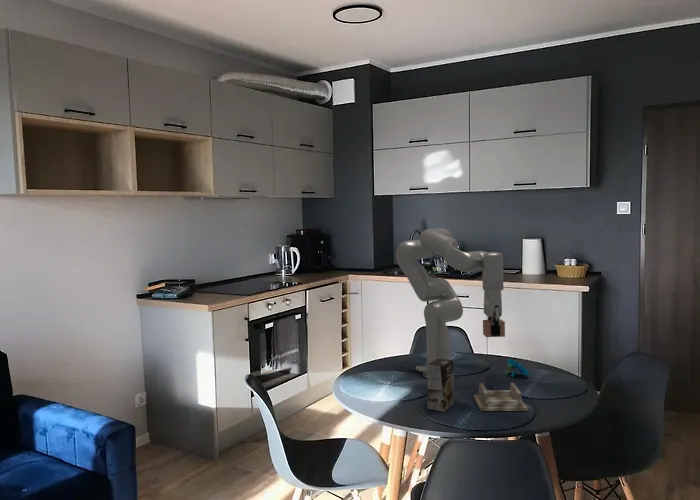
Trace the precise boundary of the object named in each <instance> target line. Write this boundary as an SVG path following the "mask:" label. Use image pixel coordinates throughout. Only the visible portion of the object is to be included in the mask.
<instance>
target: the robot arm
mask: <svg viewBox="0 0 700 500" xmlns="http://www.w3.org/2000/svg"><path fill="white" fill-rule="evenodd" d="M436 255H439V256H440V257H443V259H444V261H445V263H446V264H447V265H449V266H450V267H451V268H452V269H455V270H457V271H460V272H463V273H470V272H482V274H481V275H482V279H481V280H482V290H483V293H484V295H483V314H484V315H485V316H486V317H487V320H492V325H491V335H492V336H500V319H501V317H502V313H503V306H502V305H503V303H502V302H503V301H502V300H503V299H502V291H503V290H504V255H503V254H502V252H498V251H493V252H492V251H491V252H488V251H486V250H476V251H463V250H461V249H459V243H458V241H457V239H456V238H454V237H453V235H452V232H451V231H450V230H448V229H447V228H444V227H440V228H439V227H437V228H428V229H425V230H423V231H422V232H421V233H420V234H419V238H418V239H408V240H405V241H402V242H401V243H399V244H398V246H397V247H396V252H395V257H396V258H395V259H396V262H397V264H398V266H399V268H400V270H401V271H402V272H403V274H404V275H405V276H406V278H407V280H408V282H409V284H410V286H411V287H412V290H413V291H414V293H415V294H416V297H418V299H419V300H420V301H421V302H428V303H427V304H426V305H425V306H424V309H423V317H424V322H425V328H426V329H425V330H426V331H425V332H426V362H425V364H424V365H415V371H416V372H421V373H422V376H423V377H424V378H426V379H428V364H429V363H431V362H432V361H434V360H436V359H447V360H451V349H450V348H451V344H450V343H451V338H450V337H451V335H450V331H449V328H448V326H447V324H446V323H451V322H455V321H458V320H460V318H462V317H463V313H464V308H463V304H462V302H461V301H460V299H459V297H458V295H457V294H456V292H455V290H454V289H453V287H452V285H451V284H450V282H449V281H448V280H447V279H445V278H444V277H431V276H430V275H429V273H428V272H427V270H426V269H425V267H424V266H423V265H422V264H421V263H419V262H418V261H417V260H423V259H424V260H425V259H430V258H432V257H435V256H436ZM454 377H455V374H454V372H453V378H454Z"/></svg>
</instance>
